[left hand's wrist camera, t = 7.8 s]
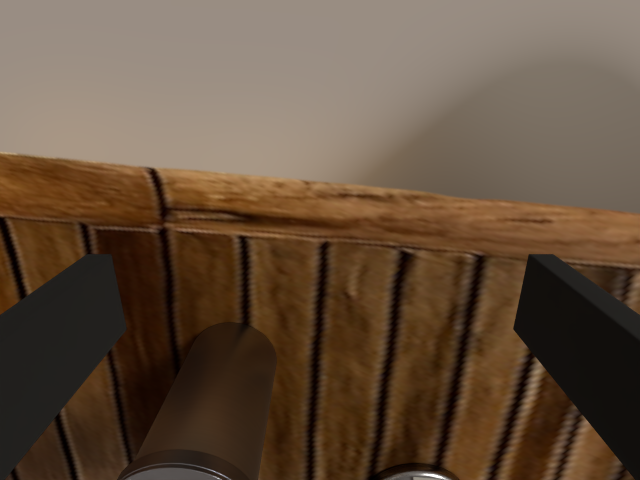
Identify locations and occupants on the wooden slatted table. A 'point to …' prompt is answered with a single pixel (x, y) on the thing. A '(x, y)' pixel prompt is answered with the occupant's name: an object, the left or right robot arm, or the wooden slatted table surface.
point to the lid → (181, 467)
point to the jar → (219, 398)
